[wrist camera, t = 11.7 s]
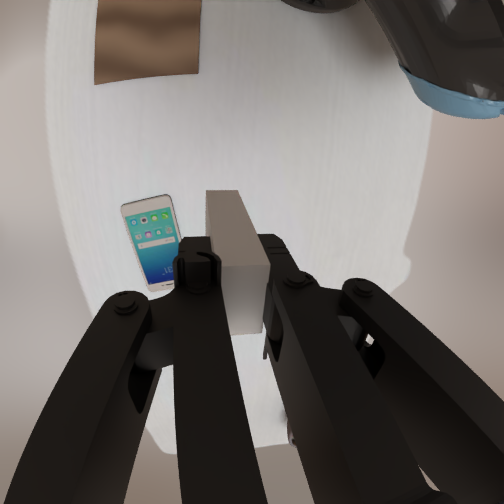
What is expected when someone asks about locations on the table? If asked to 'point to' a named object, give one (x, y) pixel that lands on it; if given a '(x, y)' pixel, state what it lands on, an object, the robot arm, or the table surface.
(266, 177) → the table surface
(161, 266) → the smartphone
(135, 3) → the serving board
